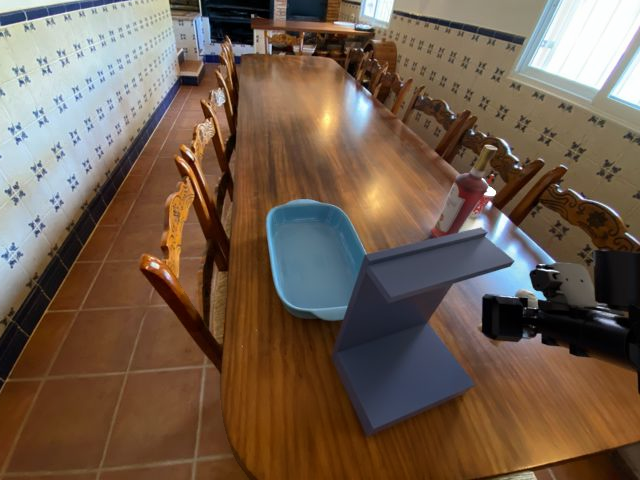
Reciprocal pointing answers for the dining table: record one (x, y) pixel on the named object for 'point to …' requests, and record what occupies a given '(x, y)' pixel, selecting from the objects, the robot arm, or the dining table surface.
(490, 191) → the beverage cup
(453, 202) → the liquor
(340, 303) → the casserole dish
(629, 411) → the dining table surface
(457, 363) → the stand
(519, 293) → the grandmother figurine
